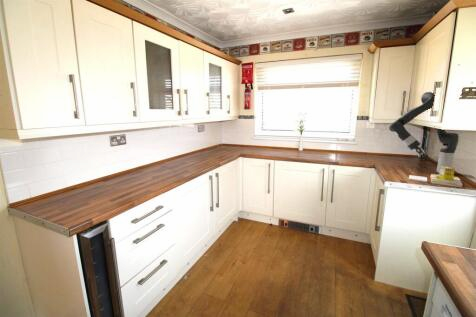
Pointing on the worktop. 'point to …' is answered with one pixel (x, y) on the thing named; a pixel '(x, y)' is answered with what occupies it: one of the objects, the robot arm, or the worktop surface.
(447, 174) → the supplement box
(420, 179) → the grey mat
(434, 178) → the puzzle board
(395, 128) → the robot arm
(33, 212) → the worktop surface
